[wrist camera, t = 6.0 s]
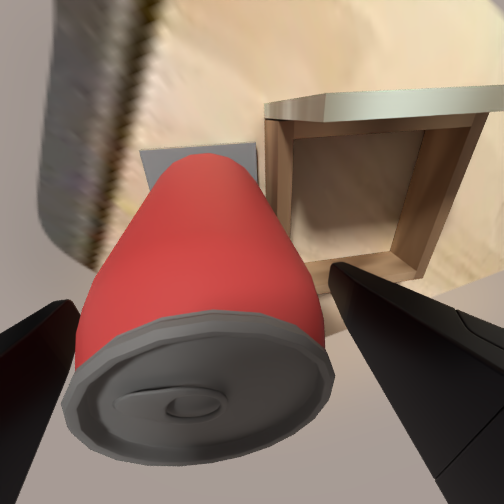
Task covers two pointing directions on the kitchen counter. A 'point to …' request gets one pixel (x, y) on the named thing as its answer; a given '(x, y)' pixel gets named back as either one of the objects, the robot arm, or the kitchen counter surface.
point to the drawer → (381, 121)
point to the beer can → (198, 328)
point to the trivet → (164, 157)
